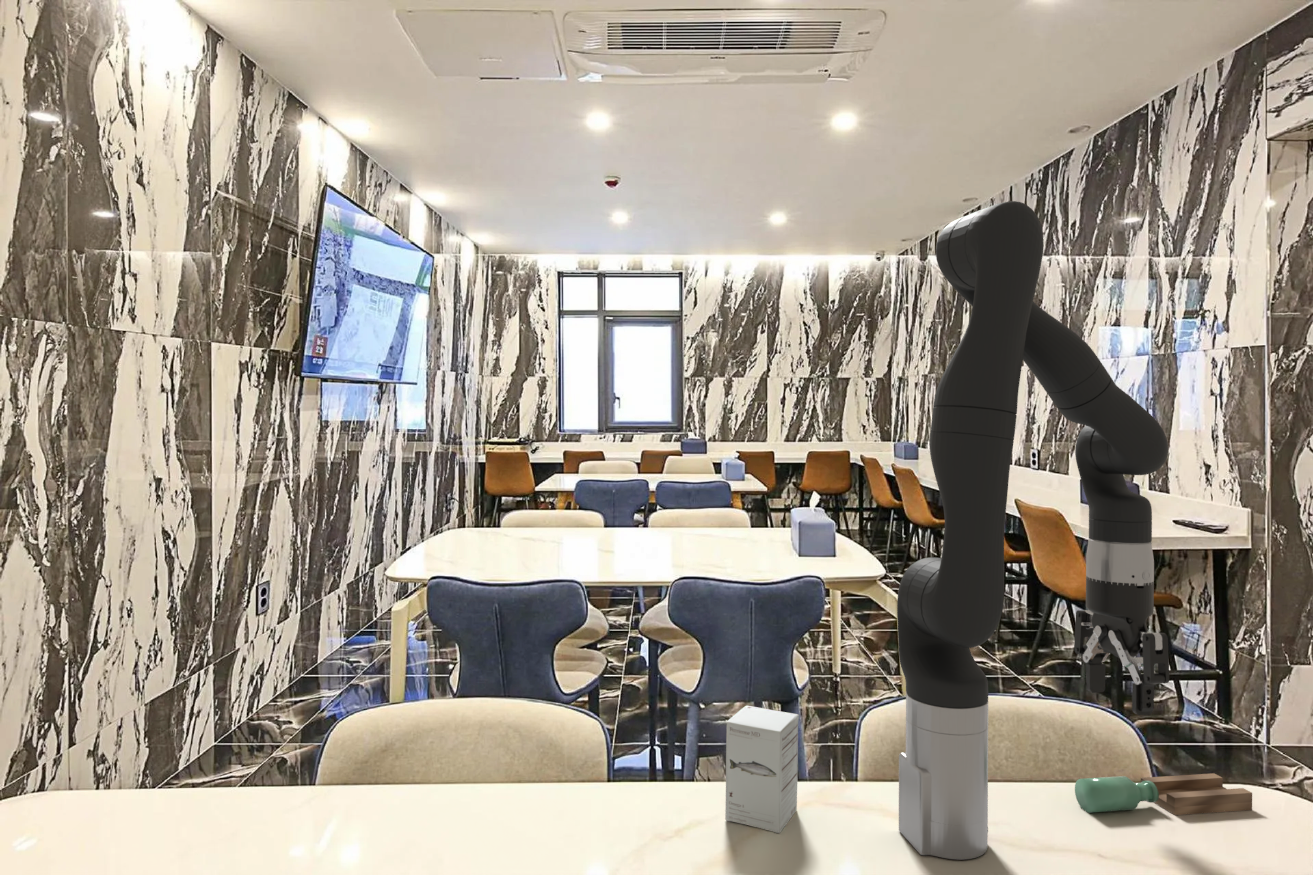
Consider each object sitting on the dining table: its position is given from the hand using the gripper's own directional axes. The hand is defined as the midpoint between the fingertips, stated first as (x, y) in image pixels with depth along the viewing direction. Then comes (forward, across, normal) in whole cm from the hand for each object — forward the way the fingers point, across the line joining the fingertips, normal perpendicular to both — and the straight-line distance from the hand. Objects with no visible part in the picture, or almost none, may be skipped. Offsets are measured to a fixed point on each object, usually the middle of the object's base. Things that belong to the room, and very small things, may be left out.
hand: (1118, 702), depth 104 cm
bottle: (+12, -1, +1) cm, 12 cm away
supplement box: (+14, -5, -45) cm, 48 cm away
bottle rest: (+14, -1, +12) cm, 19 cm away
